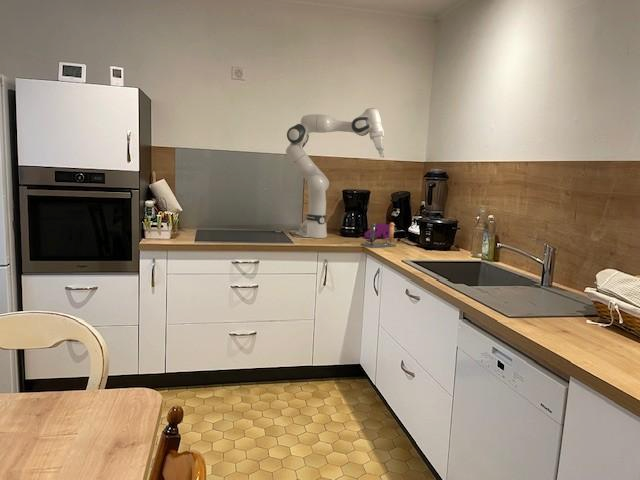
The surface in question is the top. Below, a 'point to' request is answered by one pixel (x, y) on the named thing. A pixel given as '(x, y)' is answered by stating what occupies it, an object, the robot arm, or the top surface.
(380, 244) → the hole plate
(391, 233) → the sliding leg
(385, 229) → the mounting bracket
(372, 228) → the fixed leg
